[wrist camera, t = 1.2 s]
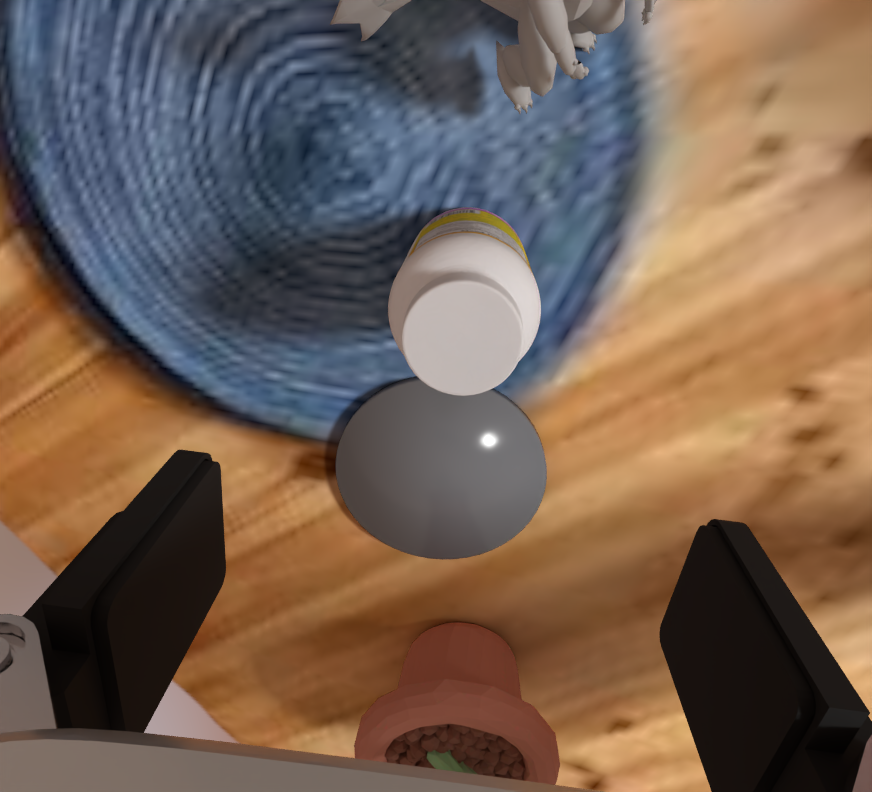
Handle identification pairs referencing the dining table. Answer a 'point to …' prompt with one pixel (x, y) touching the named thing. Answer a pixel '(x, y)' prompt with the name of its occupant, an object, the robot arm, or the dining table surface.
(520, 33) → the fairy figurine
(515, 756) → the decorative flower
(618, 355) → the dining table surface
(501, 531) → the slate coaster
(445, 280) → the supplement bottle
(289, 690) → the dining table surface
